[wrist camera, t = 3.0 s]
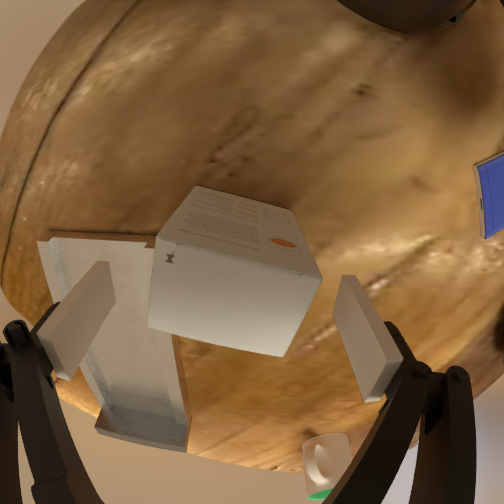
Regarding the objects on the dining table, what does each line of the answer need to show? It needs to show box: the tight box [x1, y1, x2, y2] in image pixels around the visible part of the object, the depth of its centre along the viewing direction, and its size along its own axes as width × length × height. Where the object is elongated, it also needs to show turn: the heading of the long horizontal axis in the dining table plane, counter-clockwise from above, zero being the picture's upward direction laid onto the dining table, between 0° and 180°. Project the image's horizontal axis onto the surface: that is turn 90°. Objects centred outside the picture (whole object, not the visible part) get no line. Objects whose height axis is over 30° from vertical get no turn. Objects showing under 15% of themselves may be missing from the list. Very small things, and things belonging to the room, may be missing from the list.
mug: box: [302, 433, 352, 500], centre depth 34 cm, size 12×8×10 cm
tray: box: [37, 231, 192, 452], centre depth 26 cm, size 28×13×6 cm, turn 176°
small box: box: [147, 186, 322, 357], centre depth 18 cm, size 8×6×10 cm
